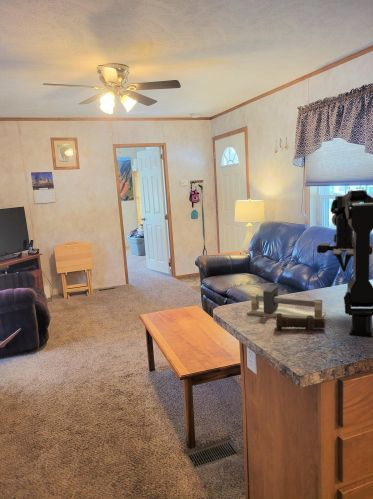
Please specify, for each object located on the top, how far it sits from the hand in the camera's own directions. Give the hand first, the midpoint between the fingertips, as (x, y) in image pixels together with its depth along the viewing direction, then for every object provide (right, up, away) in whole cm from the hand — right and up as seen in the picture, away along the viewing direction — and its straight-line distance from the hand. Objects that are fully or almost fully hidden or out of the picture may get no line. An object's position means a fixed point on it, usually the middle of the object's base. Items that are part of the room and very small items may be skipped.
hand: (344, 271), depth 141 cm
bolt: (-22, -18, -18) cm, 34 cm away
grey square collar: (-27, -15, -1) cm, 31 cm away
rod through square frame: (-23, -15, -3) cm, 28 cm away
